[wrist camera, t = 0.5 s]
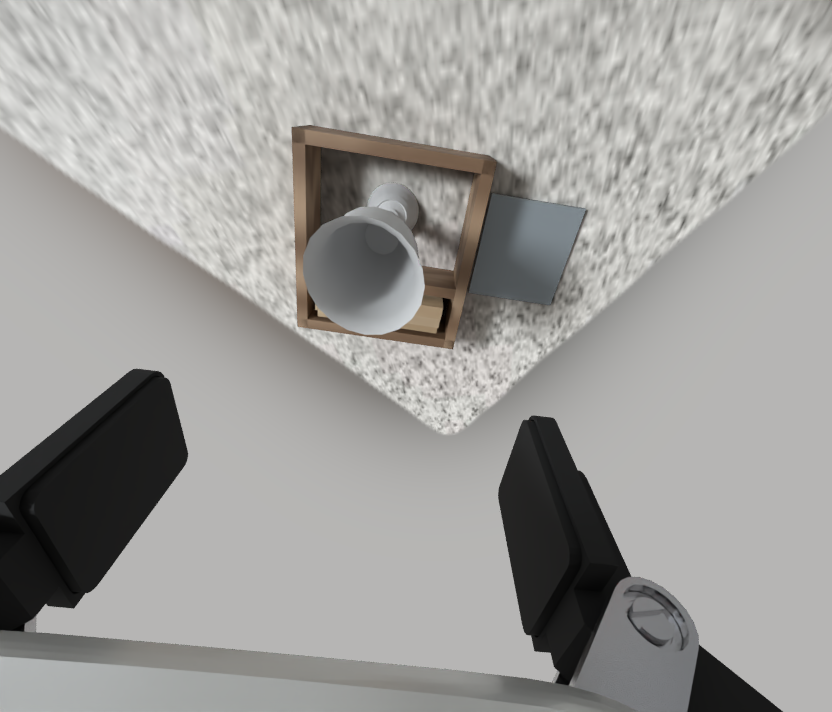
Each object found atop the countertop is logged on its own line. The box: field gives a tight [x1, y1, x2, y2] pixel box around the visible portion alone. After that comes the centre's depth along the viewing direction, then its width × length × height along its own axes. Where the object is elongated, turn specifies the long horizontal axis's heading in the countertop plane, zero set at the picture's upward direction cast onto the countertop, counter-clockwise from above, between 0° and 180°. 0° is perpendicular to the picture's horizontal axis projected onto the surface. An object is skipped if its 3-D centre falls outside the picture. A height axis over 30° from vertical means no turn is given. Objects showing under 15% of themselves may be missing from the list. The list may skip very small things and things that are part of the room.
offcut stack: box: [315, 295, 443, 333], centre depth 39 cm, size 4×12×6 cm, turn 82°
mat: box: [468, 193, 586, 305], centre depth 38 cm, size 10×9×1 cm
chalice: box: [303, 182, 425, 335], centre depth 29 cm, size 7×7×18 cm
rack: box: [292, 125, 497, 349], centre depth 36 cm, size 18×16×5 cm
